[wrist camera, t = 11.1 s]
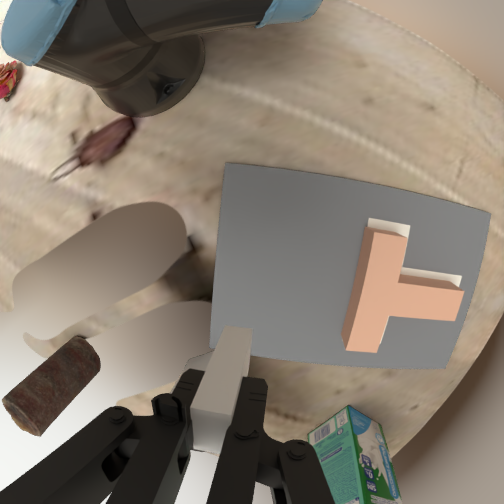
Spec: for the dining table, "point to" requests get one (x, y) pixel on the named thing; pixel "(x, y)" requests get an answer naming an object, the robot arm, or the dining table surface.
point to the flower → (7, 79)
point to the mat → (333, 264)
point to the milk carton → (355, 459)
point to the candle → (52, 386)
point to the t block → (391, 292)
